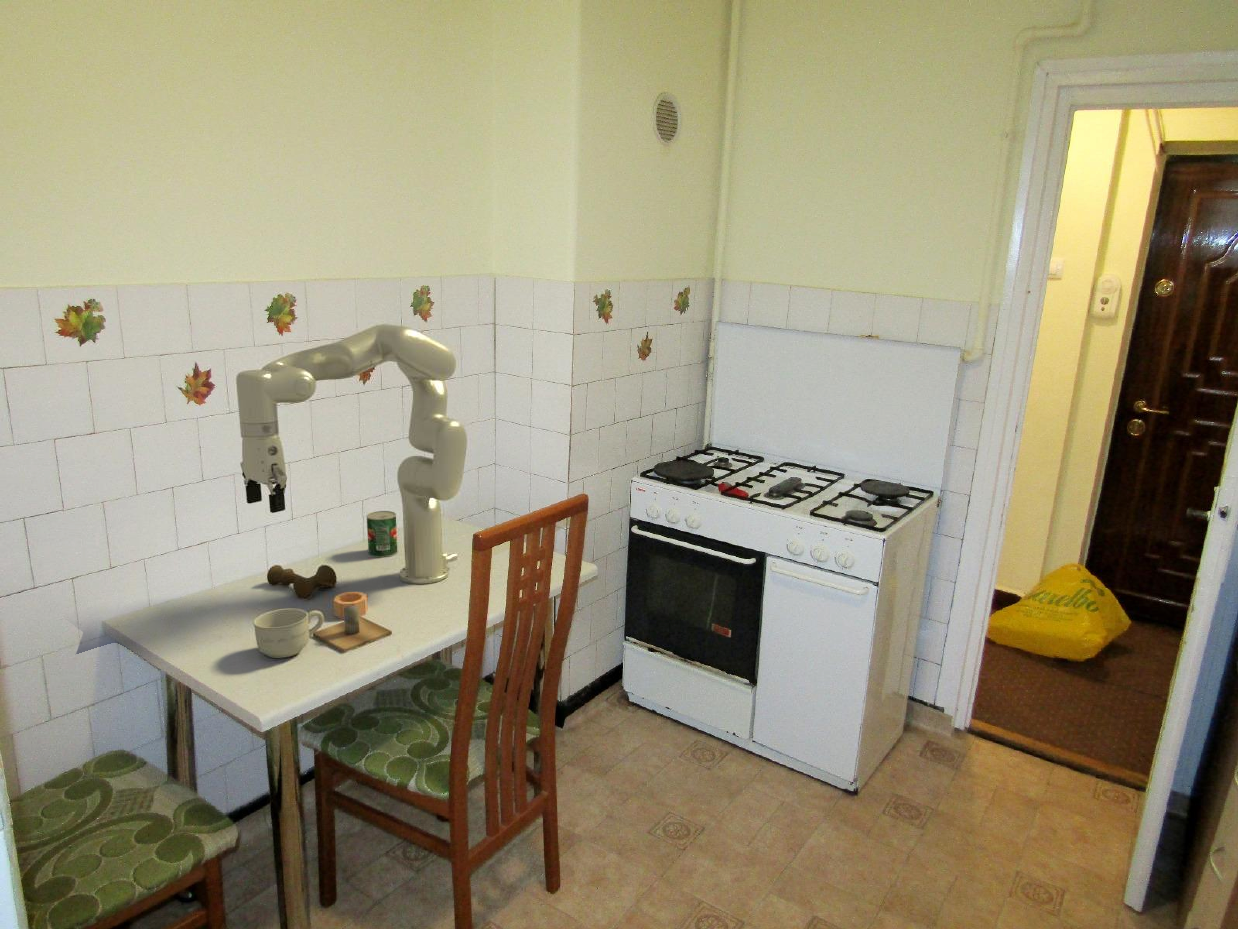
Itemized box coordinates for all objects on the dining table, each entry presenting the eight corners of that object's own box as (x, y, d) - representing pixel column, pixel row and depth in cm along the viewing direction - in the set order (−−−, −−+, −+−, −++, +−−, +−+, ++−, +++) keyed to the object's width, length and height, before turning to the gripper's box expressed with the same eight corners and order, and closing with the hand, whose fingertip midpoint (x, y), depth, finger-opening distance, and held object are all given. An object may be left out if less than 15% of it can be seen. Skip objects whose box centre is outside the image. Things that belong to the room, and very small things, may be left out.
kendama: (288, 578, 227) (349, 590, 219) (259, 592, 219) (322, 605, 211) (286, 557, 226) (347, 567, 218) (256, 570, 217) (319, 581, 209)
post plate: (360, 619, 203) (358, 593, 201) (391, 634, 195) (390, 607, 194) (313, 636, 194) (311, 609, 192) (344, 652, 186) (342, 624, 185)
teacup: (257, 667, 180) (253, 631, 178) (255, 645, 189) (252, 610, 187) (328, 655, 185) (326, 620, 183) (323, 634, 195) (321, 601, 193)
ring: (355, 603, 211) (354, 589, 210) (372, 611, 207) (372, 597, 206) (329, 612, 206) (328, 598, 205) (346, 620, 202) (345, 606, 201)
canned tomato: (363, 552, 246) (361, 514, 243) (388, 546, 251) (387, 508, 248) (377, 559, 240) (375, 521, 237) (403, 553, 245) (401, 515, 243)
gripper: (297, 432, 184) (303, 511, 188) (255, 420, 195) (261, 495, 199) (263, 438, 178) (270, 519, 182) (222, 425, 189) (229, 502, 193)
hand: (266, 506), depth 191 cm, fingers open, 9 cm apart
